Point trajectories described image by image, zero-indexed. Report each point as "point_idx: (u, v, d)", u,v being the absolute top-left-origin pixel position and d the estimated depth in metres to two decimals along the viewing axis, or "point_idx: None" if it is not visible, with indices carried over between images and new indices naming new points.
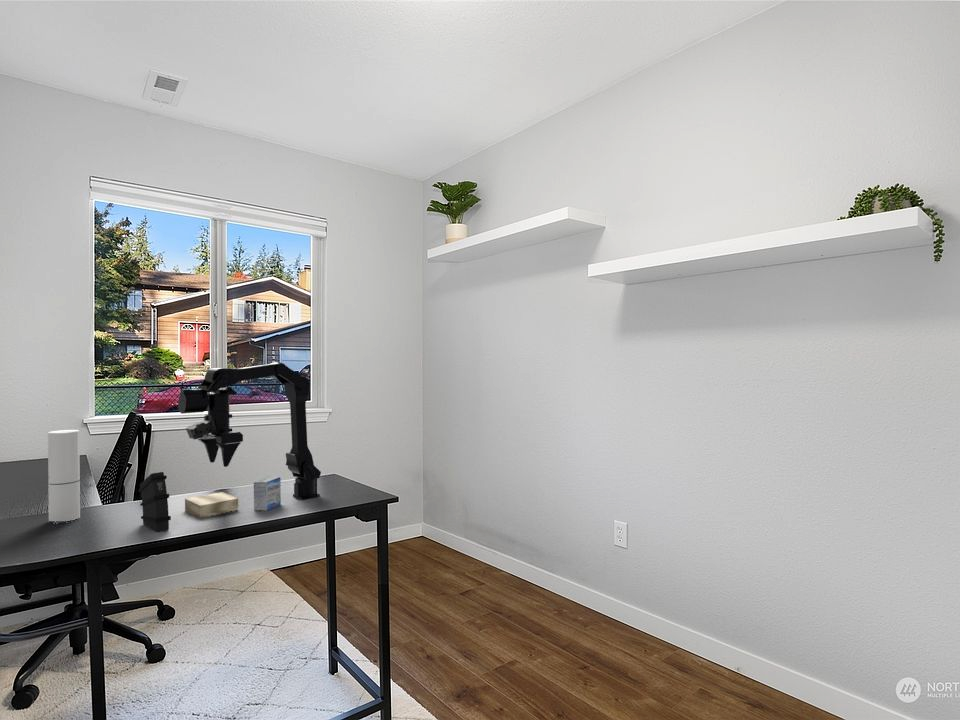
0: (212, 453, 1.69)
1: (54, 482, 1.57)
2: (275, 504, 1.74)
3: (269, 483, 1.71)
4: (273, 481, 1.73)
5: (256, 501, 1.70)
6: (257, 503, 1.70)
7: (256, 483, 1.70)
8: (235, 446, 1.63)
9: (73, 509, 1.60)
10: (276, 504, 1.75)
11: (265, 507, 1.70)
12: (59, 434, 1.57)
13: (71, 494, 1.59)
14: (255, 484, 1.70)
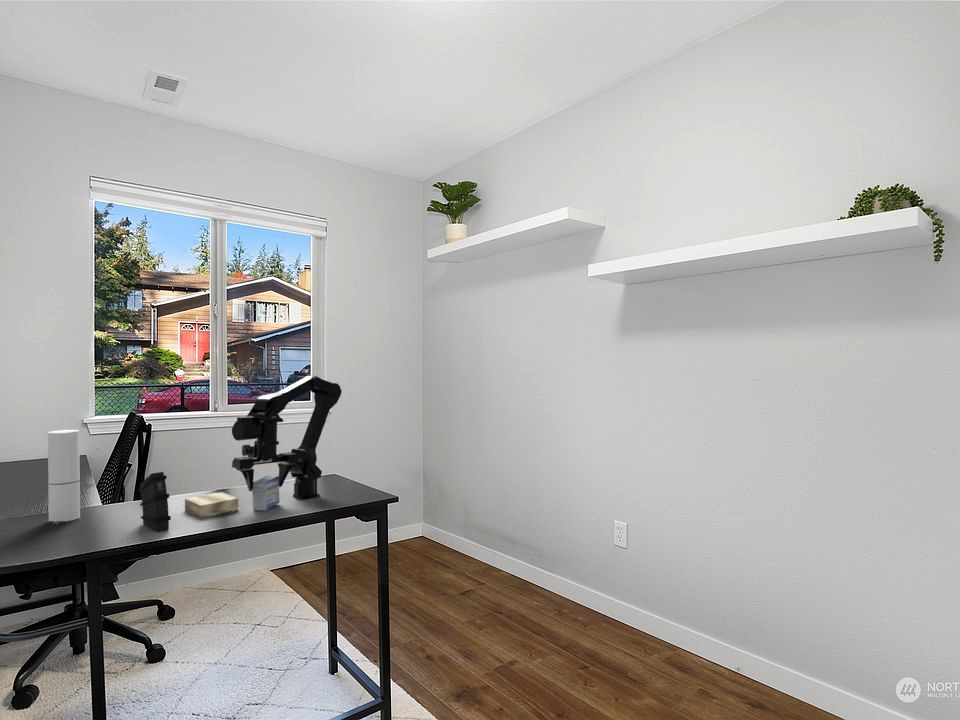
0: (280, 478, 1.77)
1: (54, 482, 1.57)
2: (274, 503, 1.74)
3: (267, 483, 1.71)
4: (272, 481, 1.73)
5: (255, 501, 1.70)
6: (256, 503, 1.70)
7: (255, 483, 1.70)
8: (247, 473, 1.67)
9: (73, 509, 1.60)
10: (275, 503, 1.75)
11: (264, 507, 1.70)
12: (59, 434, 1.57)
13: (71, 494, 1.59)
14: (254, 484, 1.70)
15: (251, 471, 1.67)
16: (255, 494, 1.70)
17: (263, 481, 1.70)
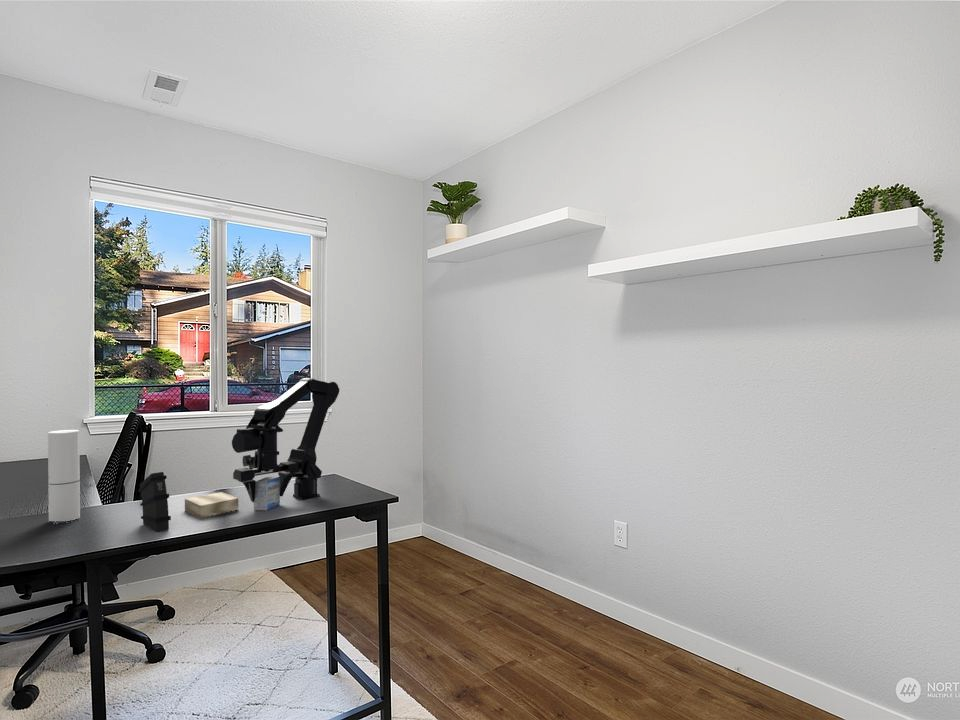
0: (281, 487, 1.77)
1: (54, 482, 1.57)
2: (274, 504, 1.74)
3: (269, 483, 1.71)
4: (273, 481, 1.73)
5: (256, 500, 1.70)
6: (257, 503, 1.70)
7: (256, 483, 1.70)
8: (249, 484, 1.68)
9: (73, 509, 1.60)
10: (275, 504, 1.75)
11: (265, 507, 1.70)
12: (59, 434, 1.57)
13: (71, 494, 1.59)
14: None
15: (253, 482, 1.68)
16: (256, 494, 1.70)
17: (264, 481, 1.71)
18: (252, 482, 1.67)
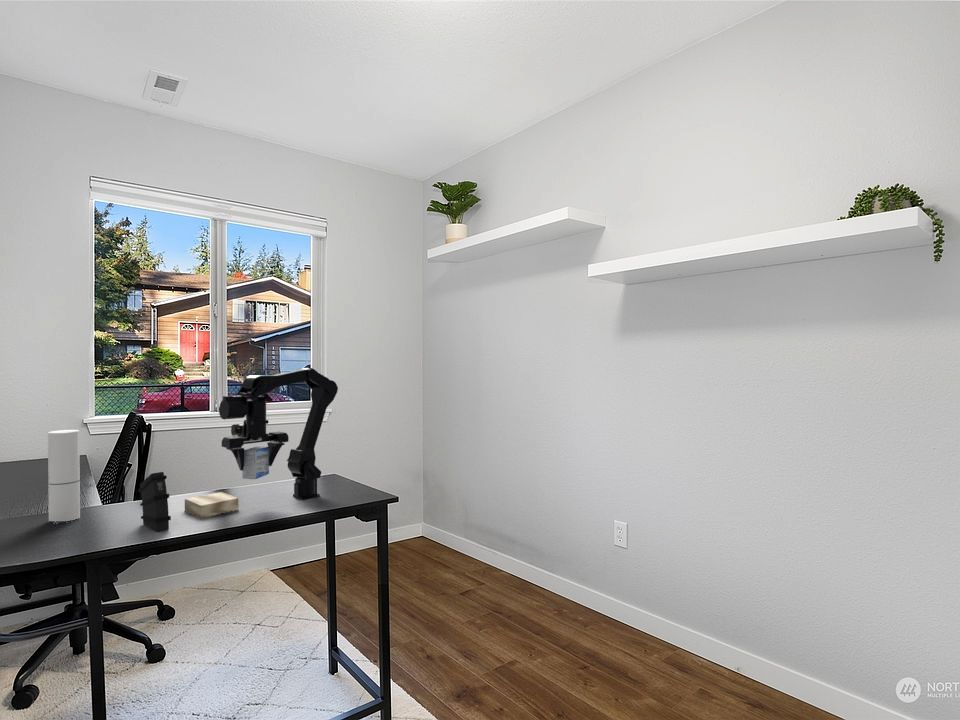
0: (270, 457, 1.76)
1: (54, 482, 1.57)
2: (264, 473, 1.73)
3: (258, 451, 1.70)
4: (262, 450, 1.73)
5: (245, 469, 1.69)
6: (245, 472, 1.69)
7: (245, 451, 1.69)
8: (238, 452, 1.67)
9: (73, 509, 1.60)
10: (264, 473, 1.74)
11: (254, 476, 1.69)
12: (59, 434, 1.57)
13: (71, 494, 1.59)
14: (244, 452, 1.69)
15: (241, 450, 1.67)
16: (245, 462, 1.69)
17: (253, 449, 1.70)
18: (241, 450, 1.66)
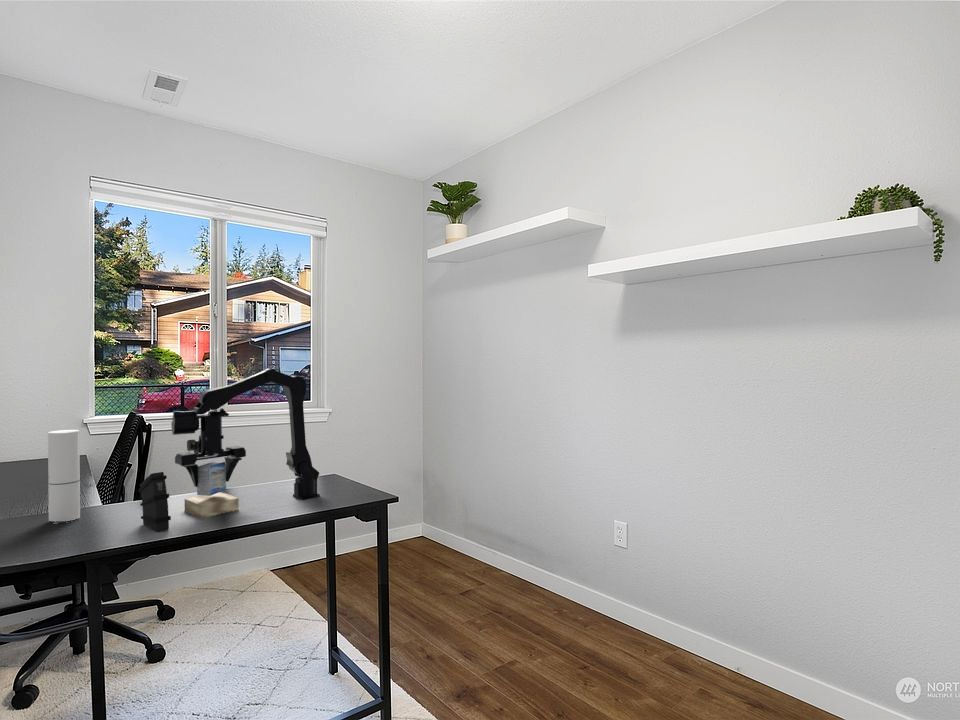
0: (227, 472, 1.74)
1: (54, 482, 1.57)
2: (220, 489, 1.71)
3: (212, 467, 1.68)
4: (217, 465, 1.70)
5: (199, 485, 1.67)
6: (200, 488, 1.67)
7: (199, 467, 1.67)
8: None
9: (73, 509, 1.60)
10: (221, 489, 1.71)
11: (208, 492, 1.66)
12: (59, 434, 1.57)
13: (71, 494, 1.59)
14: (198, 468, 1.67)
15: (195, 467, 1.64)
16: (199, 478, 1.67)
17: (208, 465, 1.68)
18: (194, 466, 1.64)
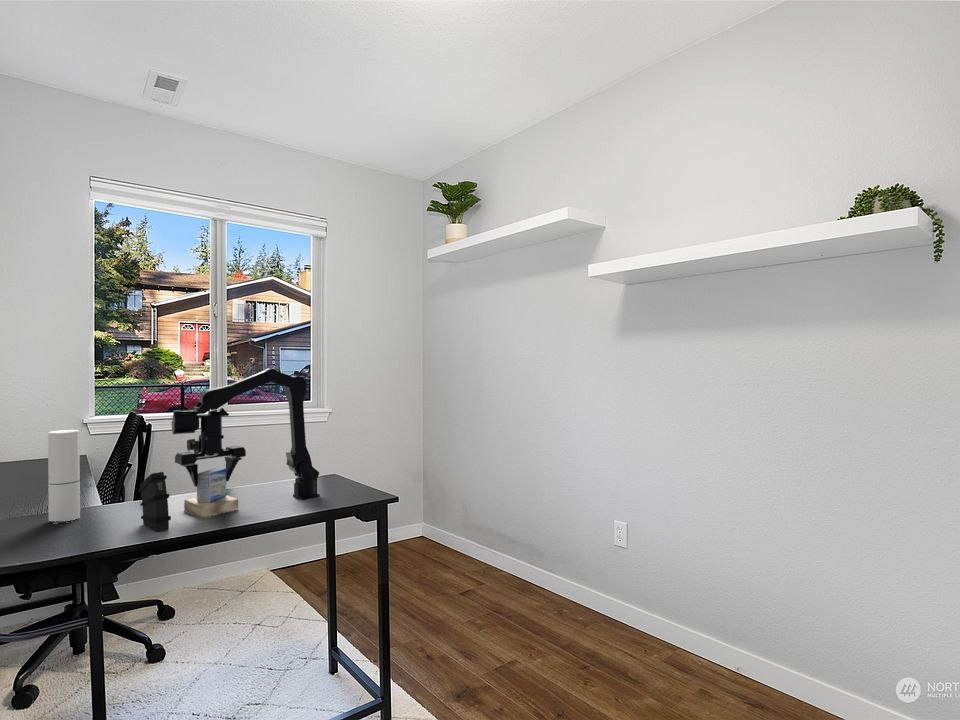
0: (226, 472, 1.74)
1: (54, 482, 1.57)
2: (220, 496, 1.71)
3: (212, 474, 1.67)
4: (217, 472, 1.70)
5: (199, 492, 1.67)
6: (200, 495, 1.67)
7: (199, 474, 1.67)
8: (191, 468, 1.64)
9: (73, 509, 1.60)
10: (221, 496, 1.71)
11: (208, 499, 1.66)
12: (59, 434, 1.57)
13: (71, 494, 1.59)
14: (198, 475, 1.67)
15: (195, 466, 1.64)
16: (199, 485, 1.67)
17: (208, 472, 1.67)
18: (194, 466, 1.64)
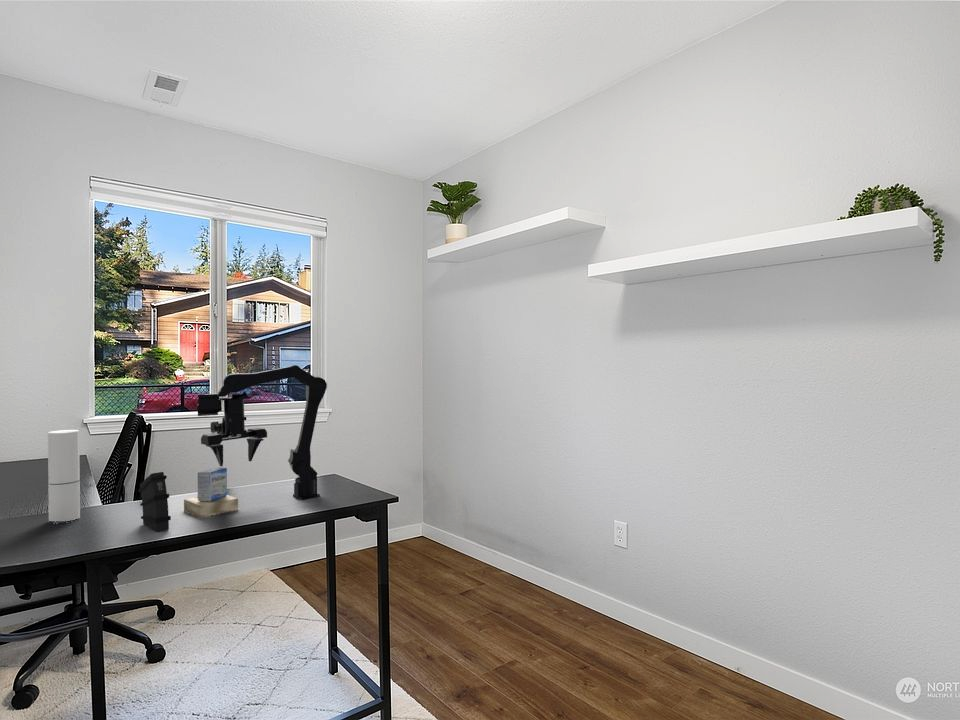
0: (249, 453, 1.81)
1: (54, 482, 1.57)
2: (220, 495, 1.71)
3: (213, 473, 1.68)
4: (218, 471, 1.70)
5: (200, 491, 1.67)
6: (201, 494, 1.67)
7: (200, 473, 1.67)
8: (217, 449, 1.72)
9: (73, 509, 1.60)
10: (221, 495, 1.71)
11: (209, 498, 1.66)
12: (59, 434, 1.57)
13: (71, 494, 1.59)
14: (199, 474, 1.67)
15: (220, 447, 1.72)
16: (200, 484, 1.67)
17: (209, 471, 1.68)
18: (220, 446, 1.71)
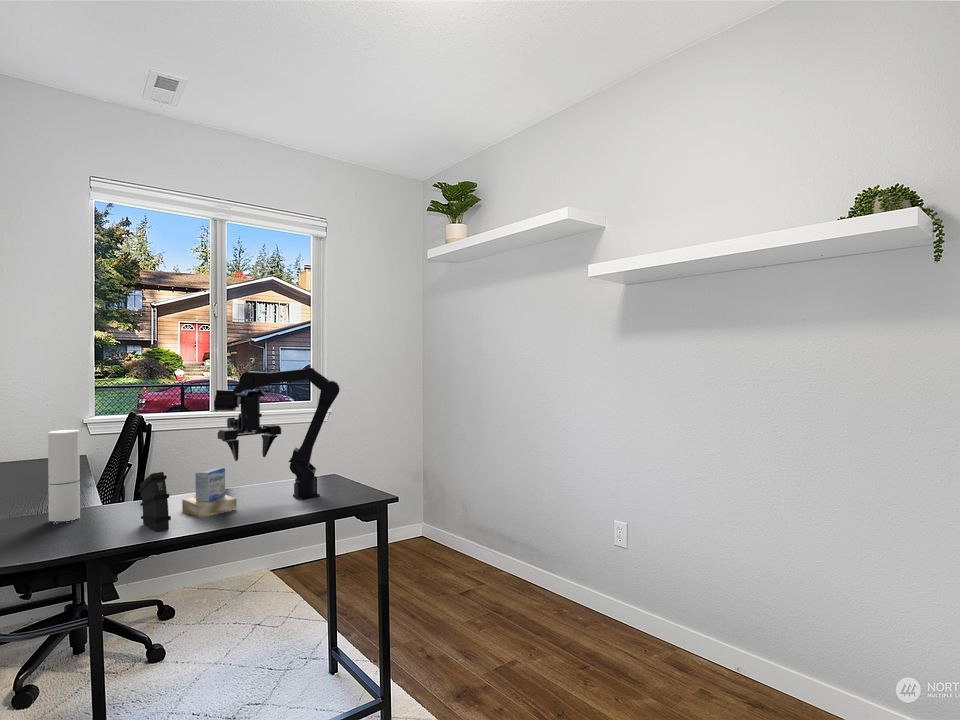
0: (264, 449, 1.87)
1: (54, 482, 1.57)
2: (218, 495, 1.71)
3: (211, 474, 1.68)
4: (216, 472, 1.70)
5: (198, 492, 1.67)
6: (199, 494, 1.67)
7: (198, 474, 1.67)
8: (233, 444, 1.77)
9: (73, 509, 1.60)
10: (220, 495, 1.71)
11: (206, 499, 1.66)
12: (59, 434, 1.57)
13: (71, 494, 1.59)
14: (197, 475, 1.67)
15: (236, 442, 1.77)
16: (198, 485, 1.67)
17: (207, 472, 1.68)
18: (235, 441, 1.77)
